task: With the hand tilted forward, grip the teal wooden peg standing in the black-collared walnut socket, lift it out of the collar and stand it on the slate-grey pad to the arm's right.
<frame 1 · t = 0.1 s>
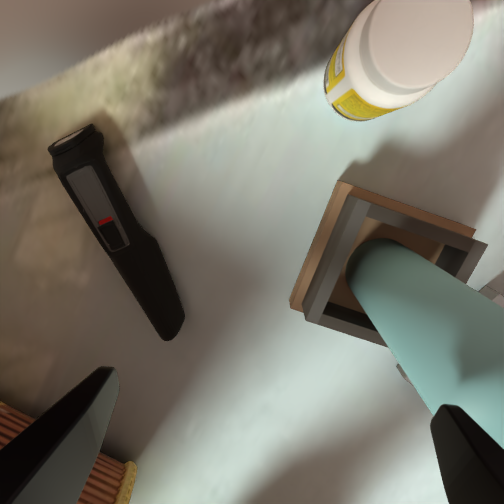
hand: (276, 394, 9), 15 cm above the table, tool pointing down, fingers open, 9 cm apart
electric trimmer: (132, 229, 24), on the table
socket: (372, 263, 24), on the table
supplement bottle: (359, 82, 21), on the table
peg: (379, 270, 22), point 1 cm above the table, touching socket
pad: (478, 360, 26), on the table
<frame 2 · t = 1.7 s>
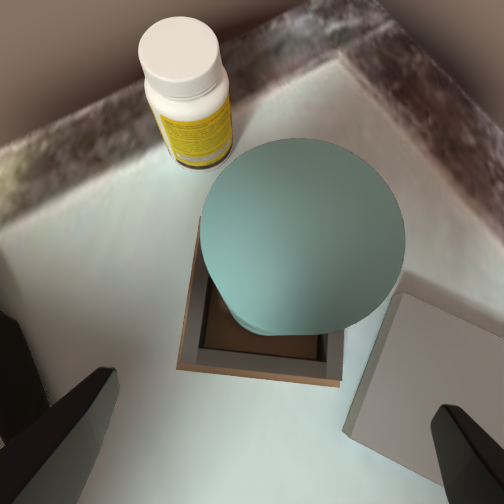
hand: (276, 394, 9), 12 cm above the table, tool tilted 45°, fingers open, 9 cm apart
socket: (264, 299, 21), on the table
supplement bottle: (201, 146, 24), on the table
peg: (265, 296, 20), point 2 cm above the table, touching socket
pad: (437, 393, 20), on the table
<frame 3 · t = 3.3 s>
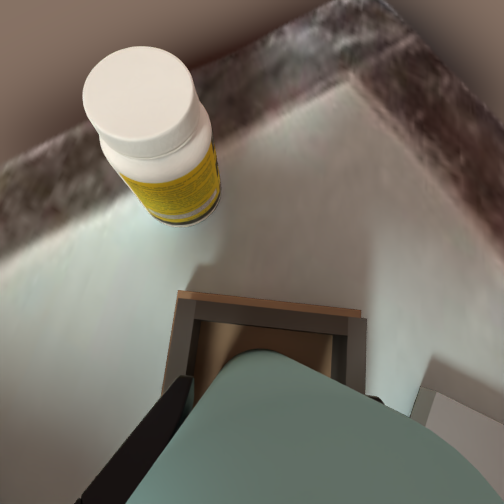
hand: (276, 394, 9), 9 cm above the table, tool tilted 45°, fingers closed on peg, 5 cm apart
socket: (258, 393, 17), on the table
supplement bottle: (182, 192, 20), on the table
peg: (260, 398, 16), point 2 cm above the table, touching gripper, socket
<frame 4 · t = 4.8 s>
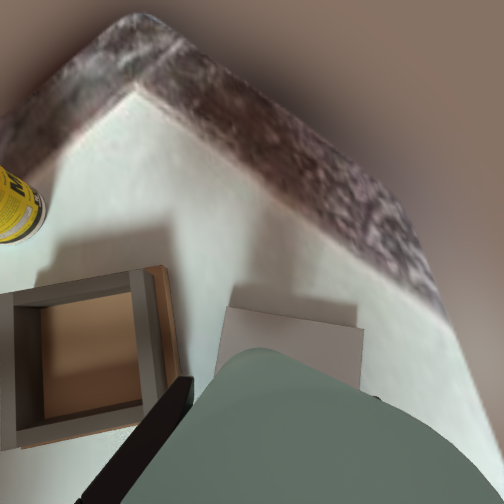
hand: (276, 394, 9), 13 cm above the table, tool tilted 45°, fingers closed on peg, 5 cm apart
socket: (106, 349, 22), on the table
supplement bottle: (16, 215, 24), on the table
peg: (259, 397, 16), point 6 cm above the table, touching gripper
pad: (282, 387, 22), on the table
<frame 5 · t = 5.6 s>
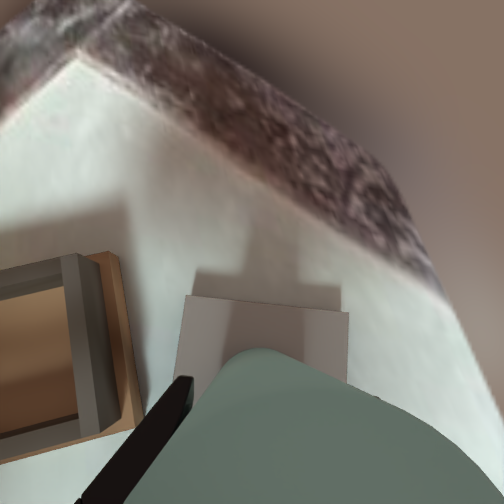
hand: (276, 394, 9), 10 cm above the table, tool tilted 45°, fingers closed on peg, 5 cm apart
socket: (47, 354, 19), on the table
peg: (260, 397, 16), point 3 cm above the table, touching gripper
pad: (258, 386, 18), on the table
when the fingers open (9 cm above the table, at t = 6.0 s): peg stays where it is, resting on pad.
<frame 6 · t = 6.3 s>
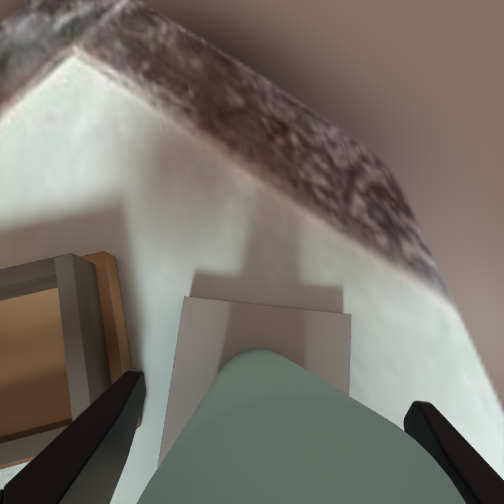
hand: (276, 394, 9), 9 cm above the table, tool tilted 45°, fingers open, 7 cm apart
socket: (42, 357, 18), on the table
peg: (259, 395, 16), point 1 cm above the table, touching pad
pad: (258, 390, 18), on the table
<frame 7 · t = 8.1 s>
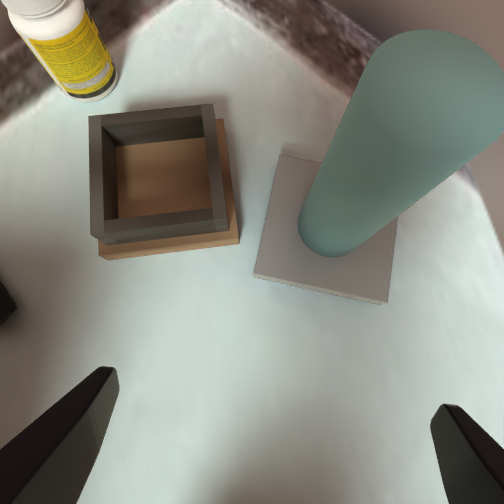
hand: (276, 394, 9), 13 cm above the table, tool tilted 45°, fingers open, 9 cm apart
socket: (169, 191, 25), on the table
supplement bottle: (90, 81, 27), on the table
peg: (330, 225, 23), point 1 cm above the table, touching pad
pad: (325, 231, 24), on the table
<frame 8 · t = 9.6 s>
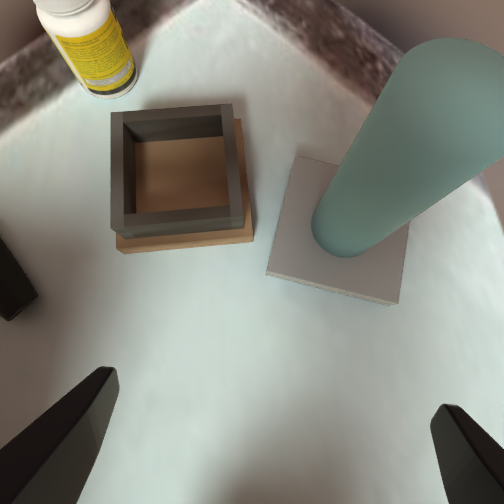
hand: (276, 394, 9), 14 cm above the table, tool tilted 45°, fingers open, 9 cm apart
socket: (185, 188, 25), on the table
supplement bottle: (111, 78, 28), on the table
peg: (343, 225, 23), point 1 cm above the table, touching pad
pad: (338, 231, 25), on the table
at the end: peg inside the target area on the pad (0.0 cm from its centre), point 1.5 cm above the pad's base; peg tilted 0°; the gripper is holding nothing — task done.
